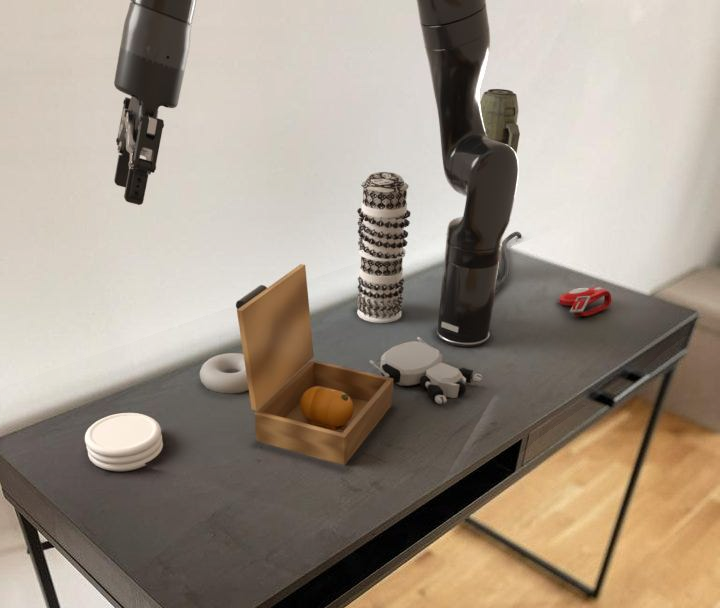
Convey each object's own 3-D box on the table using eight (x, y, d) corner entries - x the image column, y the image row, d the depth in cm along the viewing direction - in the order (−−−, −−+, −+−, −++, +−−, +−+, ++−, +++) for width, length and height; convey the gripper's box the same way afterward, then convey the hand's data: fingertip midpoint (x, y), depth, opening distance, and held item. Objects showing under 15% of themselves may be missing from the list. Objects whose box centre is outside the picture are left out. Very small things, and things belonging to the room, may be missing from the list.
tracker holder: (550, 291, 151) (598, 278, 151) (553, 313, 153) (600, 299, 153) (572, 302, 140) (624, 288, 140) (575, 325, 142) (626, 311, 142)
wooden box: (391, 409, 116) (393, 378, 112) (344, 469, 103) (344, 437, 99) (311, 389, 120) (311, 359, 117) (256, 445, 107) (254, 413, 104)
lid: (305, 264, 108) (275, 261, 110) (242, 310, 95) (209, 306, 97) (313, 356, 116) (286, 352, 118) (256, 410, 103) (226, 405, 105)
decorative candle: (396, 327, 139) (405, 186, 124) (348, 319, 141) (351, 179, 126) (409, 307, 146) (419, 172, 131) (363, 300, 148) (367, 166, 133)
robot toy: (484, 392, 122) (412, 355, 129) (489, 368, 119) (416, 331, 126) (437, 421, 115) (364, 380, 122) (442, 396, 112) (367, 355, 119)
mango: (294, 423, 110) (293, 391, 107) (310, 407, 114) (309, 375, 111) (344, 437, 108) (345, 404, 104) (359, 419, 111) (360, 387, 108)
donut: (191, 395, 117) (253, 402, 116) (188, 375, 115) (251, 382, 114) (214, 365, 125) (272, 371, 124) (211, 346, 123) (270, 352, 122)
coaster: (74, 453, 104) (68, 431, 102) (134, 424, 110) (130, 403, 108) (118, 482, 99) (113, 460, 97) (178, 450, 105) (175, 429, 103)
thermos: (482, 287, 155) (508, 99, 134) (442, 269, 162) (461, 88, 141) (512, 278, 159) (541, 94, 138) (472, 261, 167) (493, 84, 146)
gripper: (197, 74, 86) (167, 216, 93) (172, 60, 97) (147, 188, 104) (130, 51, 82) (104, 201, 89) (112, 38, 93) (90, 173, 100)
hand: (127, 194), depth 96 cm, fingers open, 8 cm apart
